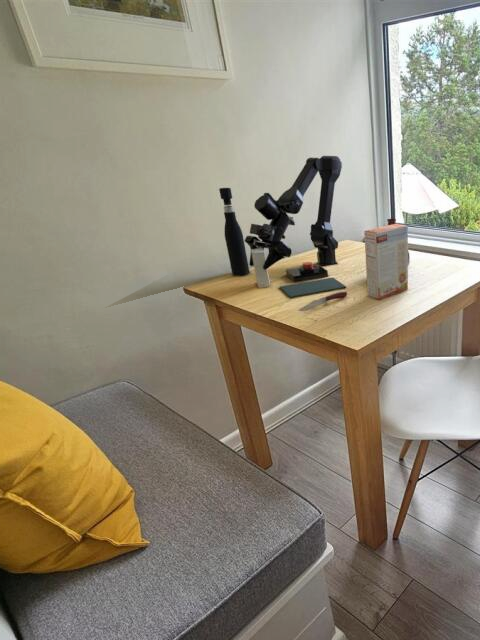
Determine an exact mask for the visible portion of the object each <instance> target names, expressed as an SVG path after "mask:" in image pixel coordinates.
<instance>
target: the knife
mask: <svg viewBox="0 0 480 640" xmlns="http://www.w3.org/2000/svg"><path fill="white" fill-rule="evenodd" d="M347 295H348V291H346V290H345V291H344V290H341V291H336V292H333V293H330V294H327V295H325V296H322V297H321V298H318V299H314V300H313V301H312V300H311V302H309V303H306V305H304V306H303V307H301V308H299V309H298V310H297V311H299V312H307V311H311V310H313V309H316V308H317V307H319V306H320V307H321V306H322V305H324V306H327V304H328V302H330V301H334V300H344V299H345V298H346V297H347Z"/></svg>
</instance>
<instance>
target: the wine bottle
mask: <svg viewBox="0 0 480 640" xmlns="http://www.w3.org/2000/svg"><path fill="white" fill-rule="evenodd" d="M218 191H219V196H220V199H221V200H223V205H224V206H223V211H224V212H223V215H224V221H225V222H224V240H225V244H226V250H227V254H228V259H229V264H230V269H231V275H232V276H233V277H244V276H247V275H250V268H249V266H250V265H249V262H248V256H247V250H246V245H245V241H244V240H245V238H244V233H243V230H242V228H241V226H240V224H239V222H238V220H237V216H236V211H234V210H235V209H234V206H233V205H232V199H233V193H232V188H231V187H220V188H218Z"/></svg>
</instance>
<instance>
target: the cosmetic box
mask: <svg viewBox="0 0 480 640" xmlns="http://www.w3.org/2000/svg"><path fill="white" fill-rule="evenodd" d="M264 250H265V249H264ZM264 250H263V248H259V249H251V248H250V254H251V253H252V258H253V264H254V265H253V269H254V274H255V278H256V283H257V288H259V289H260V288H261V289H262V288H270V287H271V282H270V281H271V280H270V277H269V271H268V268H267V269H266V270H265V269H263V266H264V263H265V261H266V256H265V251H264Z"/></svg>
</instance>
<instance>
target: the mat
mask: <svg viewBox="0 0 480 640" xmlns="http://www.w3.org/2000/svg"><path fill="white" fill-rule="evenodd" d="M279 289H280V290H281V291H282V292H283V293H284V294H285V295H286V296H287V297H288V298H289V299H294V298H300V297H306V296H310V295H316V294H322V293H328V292H334V291H338V290H344V289H347V286H346V285H345V284H344V283H341V281H339V280H337V279H336V278H334V277H326V278H320V279H314V280H308V281H302V282H296V283H292V284H286V285H280V286H279Z"/></svg>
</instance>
